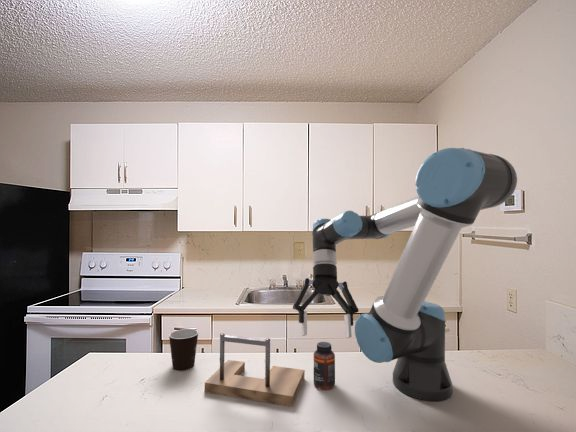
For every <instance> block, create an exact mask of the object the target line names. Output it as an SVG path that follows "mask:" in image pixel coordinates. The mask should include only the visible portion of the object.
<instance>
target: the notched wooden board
mask: <svg viewBox="0 0 576 432" xmlns="http://www.w3.org/2000/svg"><path fill="white" fill-rule="evenodd" d="M245 363H246V362H245V361H240V360H233V359H227V360H226V361H224V380H220V367H219V368H218V369H217V370H216V371H215V372H214V373H213V374H212V375H210V377H208V378H207V379H206V380H205V382H204V392H205V393H207V394H215V395H219V396H220V395H221V396H225V397H233V398H238V399H242V400H250V401H256V402H260V403H261V402H262V403H267V404H268V403H269V404H272V405H273V404H274V405H281V406H286V407H291V408H292V407H294V405H295V403H296V400H297V397H298V395H299V393H300V390H301V388H302V386H303V384H304V381H305V369H299V368H292V367H286V366H279V365H278V366H277V365H273V366H272V367H270V386H269V387H266V386H265V377H264V378H259V377H251V376H245V375H242V374H243V373H244V371H246V369H245V368H246V367H245V366H246V364H245Z"/></svg>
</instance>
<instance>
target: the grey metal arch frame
mask: <svg viewBox="0 0 576 432" xmlns="http://www.w3.org/2000/svg"><path fill="white" fill-rule="evenodd" d="M225 342H226V343H237V344H245V345H252V346H261V347H265V352H264V353H265V359H264V360H265V361H264V363H265V365H264V366H265V367H264V371H265V372H264V375H265V377H264V378H265V386H266V387H269V386H270V370H271V338H265V339H264V338H263V339H262V338H253V337H244V336H237V335H227V334H225V333H220V334H219V368H220V380H224V363H225V346H226V345H225Z"/></svg>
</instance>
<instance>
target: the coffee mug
mask: <svg viewBox="0 0 576 432" xmlns="http://www.w3.org/2000/svg"><path fill="white" fill-rule="evenodd" d="M168 336H169V337H168V338H169V345H170V346H169V347H170V355H171V363H172V369H173V370H174V371H177V372H183V371H188V370H191V369H192V368H193V367H195V361H196V354H197V353H196V352H197V346H198V337H199V331H198V330H197V329H194V328H181V329H178V330H174V331H172V332H170V333H169V334H168Z"/></svg>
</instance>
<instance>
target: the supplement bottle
mask: <svg viewBox="0 0 576 432" xmlns="http://www.w3.org/2000/svg"><path fill="white" fill-rule="evenodd" d="M313 385H314V387H315V388H317V389H318V390H320V391H321V390H323V391H328V390H329V391H330V390H332V389H334V388H335V385H336V354H335V353H334V351H333V350H332V344H331V343H330V342H328V341H319V342H318V343H317V344H316V350H315V351H314V352H313Z"/></svg>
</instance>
